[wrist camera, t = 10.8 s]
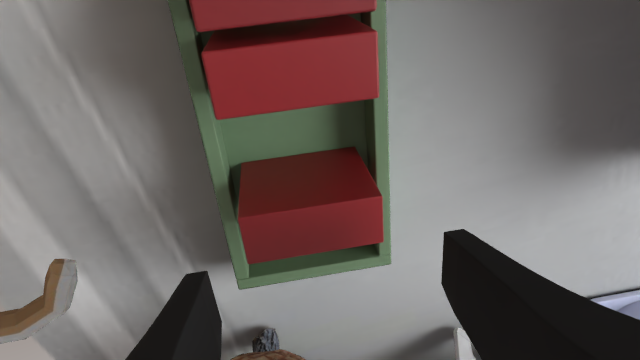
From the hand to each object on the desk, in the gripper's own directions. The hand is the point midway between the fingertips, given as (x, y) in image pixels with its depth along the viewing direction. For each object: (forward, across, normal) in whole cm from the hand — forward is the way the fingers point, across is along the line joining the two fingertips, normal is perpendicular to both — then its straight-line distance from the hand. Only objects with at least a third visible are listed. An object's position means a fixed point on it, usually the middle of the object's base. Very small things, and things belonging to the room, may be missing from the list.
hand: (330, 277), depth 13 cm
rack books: (+7, 0, -7) cm, 10 cm away
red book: (+7, 0, 0) cm, 7 cm away
